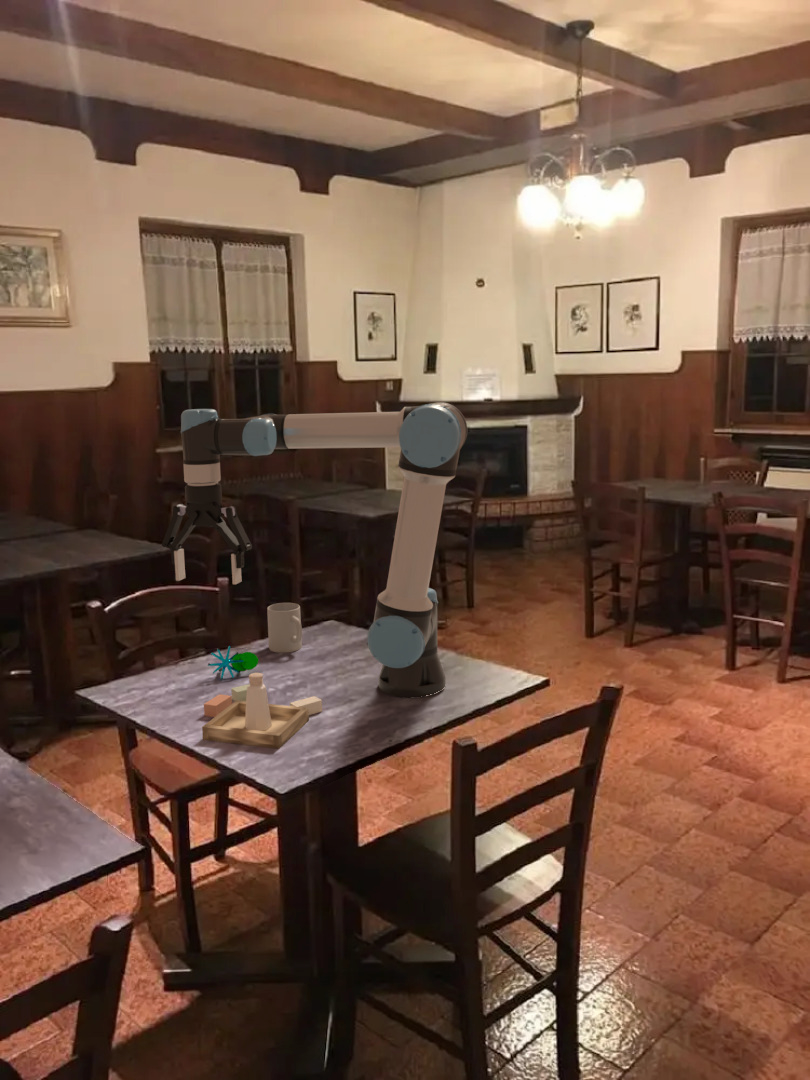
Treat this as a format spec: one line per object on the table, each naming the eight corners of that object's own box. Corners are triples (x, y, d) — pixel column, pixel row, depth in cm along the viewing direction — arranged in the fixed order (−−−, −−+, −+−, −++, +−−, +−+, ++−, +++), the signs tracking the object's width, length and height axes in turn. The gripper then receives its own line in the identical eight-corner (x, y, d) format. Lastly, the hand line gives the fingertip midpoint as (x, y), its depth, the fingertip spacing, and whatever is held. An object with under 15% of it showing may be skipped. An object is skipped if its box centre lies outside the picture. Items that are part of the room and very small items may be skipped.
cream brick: (314, 709, 193) (314, 696, 193) (322, 713, 191) (321, 700, 190) (290, 716, 190) (289, 702, 189) (297, 720, 187) (297, 707, 187)
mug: (262, 647, 235) (260, 606, 233) (290, 640, 240) (289, 600, 238) (286, 658, 226) (284, 616, 224) (315, 651, 231) (313, 610, 229)
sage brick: (257, 695, 202) (256, 682, 202) (262, 699, 200) (262, 686, 199) (232, 701, 199) (231, 688, 198) (237, 705, 196) (237, 692, 196)
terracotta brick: (220, 707, 195) (219, 694, 195) (232, 709, 194) (231, 695, 194) (204, 717, 190) (203, 704, 189) (216, 719, 189) (216, 705, 188)
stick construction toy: (211, 678, 208) (207, 646, 211) (205, 687, 213) (201, 656, 216) (262, 674, 213) (257, 643, 216) (254, 683, 219) (249, 652, 222)
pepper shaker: (246, 721, 184) (244, 670, 182) (273, 721, 184) (271, 669, 182) (242, 732, 179) (239, 679, 177) (270, 731, 179) (267, 678, 177)
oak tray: (309, 721, 186) (308, 708, 186) (279, 750, 173) (278, 735, 172) (237, 713, 191) (236, 700, 190) (203, 741, 177) (202, 726, 177)
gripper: (264, 482, 190) (269, 580, 194) (160, 479, 198) (167, 573, 202) (248, 487, 183) (253, 588, 187) (141, 484, 191) (148, 581, 195)
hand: (208, 581), depth 195 cm, fingers open, 13 cm apart
